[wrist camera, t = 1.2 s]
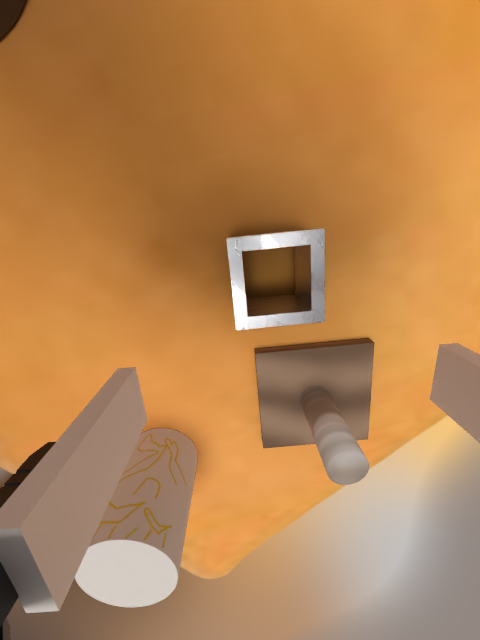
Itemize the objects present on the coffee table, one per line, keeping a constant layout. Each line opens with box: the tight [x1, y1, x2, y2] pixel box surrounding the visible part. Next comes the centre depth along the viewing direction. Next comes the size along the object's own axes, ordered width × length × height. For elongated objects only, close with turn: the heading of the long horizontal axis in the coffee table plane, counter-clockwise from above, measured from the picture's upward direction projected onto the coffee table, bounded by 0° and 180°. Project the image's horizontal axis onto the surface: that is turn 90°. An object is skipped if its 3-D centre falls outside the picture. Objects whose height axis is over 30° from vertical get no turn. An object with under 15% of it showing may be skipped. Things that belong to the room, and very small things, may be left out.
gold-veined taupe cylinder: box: [75, 428, 198, 607], centre depth 27 cm, size 8×8×12 cm
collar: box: [226, 229, 325, 330], centre depth 23 cm, size 7×7×6 cm
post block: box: [255, 338, 374, 485], centre depth 25 cm, size 12×12×10 cm
